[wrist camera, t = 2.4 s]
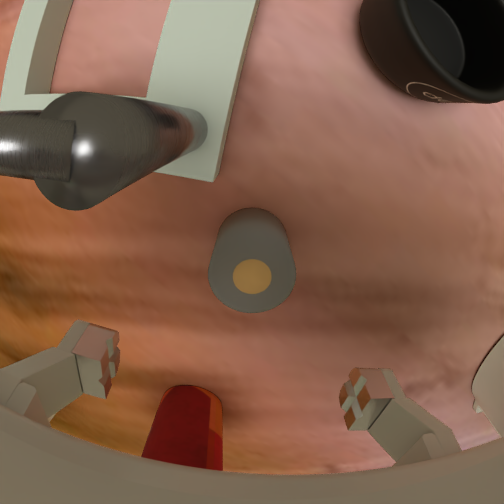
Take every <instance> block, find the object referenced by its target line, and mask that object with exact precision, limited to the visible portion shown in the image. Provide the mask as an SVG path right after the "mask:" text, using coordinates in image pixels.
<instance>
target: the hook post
mask: <svg viewBox="0 0 504 504" xmlns="http://www.w3.org/2000/svg"><path fill="white" fill-rule="evenodd" d="M207 132H208V127H207V122H206V120H205V118H204V117H203V116H202V115H201V114H200V113H199V112H198V111H196V110H193V109H189V108H185V107H180V106H175V105H170V104H165V103H159V102H154V101H148V100H142V99H136V98H129V97H122V96H115V95H107V94H99V93H90V92H71V93H67V94H64V95H62V96H60V97H58V98H56V99H55V100H53V101H52V102H51V103H50V104H49V105H48V106H47V107H46V108H45V109H44V110H8V111H0V175H2V176H10V177H17V178H24V179H31V180H34V181H35V183H36V185H37V187H38V188H39V190H40V191H41V192H42V194H43V195H44V196H45V197H46V198H47V199H48V200H49V201H51V202H52V203H53V204H55V205H57V206H59V207H61V208H64V209H67V210H74V211H75V210H84V209H88V208H91V207H93V206H95V205H97V204H99V203H100V202H102V201H104V200H105V199H107V198H108V197H110V196H112V195H113V194H115V193H117V192H118V191H120V190H122V189H124V188H125V187H127V186H129V185H130V184H132V183H134V182H136V181H137V180H139V179H141V178H143V177H145V176H146V175H148V174H150V173H152V172H154V171H156V170H157V169H159V168H161V167H163V166H165V165H167V164H169V163H171V162H172V161H174V160H176V159H178V158H180V157H182V156H184V155H186V154H188V153H190V152H192V151H194V150H196V149H198V148H199V147H200V146H201V145H202V144H203V143H204V141H205V139H206V137H207Z"/></svg>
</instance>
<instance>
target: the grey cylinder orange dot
mask: <svg viewBox="0 0 504 504" xmlns="http://www.w3.org/2000/svg"><path fill="white" fill-rule="evenodd" d="M208 279H209V284H210V287H211V289H212V291H213V293H214V294H215V296H216V297H217V298H218V299H219V300H220V301H221V302H222V303H223V304H225V305H226V306H228V307H230V308H232V309H234V310H237V311H240V312H245V313H259V312H264V311H267V310H270V309H273V308H275V307H276V306H278V305H280V304H281V303H282V302H283V301H284V300H285V299H286V298H287V297H288V296H289V295H290V293H291V291H292V290H293V287H294V285H295V281H296V267H295V263H294V260H293V256H292V253H291V249H290V246H289V242H288V239H287V235H286V232H285V229H284V227H283V225H282V223H281V222H280V220H279V219H278V218H277V217H276V216H274V215H273V214H272V213H270V212H268V211H266V210H263V209H259V208H245V209H241V210H238V211H236V212H234V213H232V214H231V215H230V216H228V217H227V218H226V219H225V221H224V222H223V223H222V225H221V227H220V229H219V232H218V236H217V239H216V243H215V246H214V250H213V253H212V257H211V261H210V264H209V269H208Z"/></svg>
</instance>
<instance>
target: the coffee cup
mask: <svg viewBox="0 0 504 504" xmlns="http://www.w3.org/2000/svg"><path fill="white" fill-rule="evenodd" d="M141 457H144V458H148V459H152V460H157V461H162V462H167V463H172V464H177V465H183V466H189V467H195V468H202V469H210V470H218V471H223V436H222V405H221V402H220V400H219V399H218V397H217V396H215V395H214V394H213V393H211V392H210V391H208V390H206V389H203V388H200V387H197V386H191V385H180V386H175V387H172V388H170V389H168V390H167V391H166V392H165V394H164V395H163V398H162V400H161V402H160V405H159V408H158V410H157V413H156V416H155V419H154V421H153V424H152V427H151V430H150V433H149V436H148V438H147V441H146V444H145V447H144V450H143V453H142V456H141Z"/></svg>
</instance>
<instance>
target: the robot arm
mask: <svg viewBox="0 0 504 504" xmlns="http://www.w3.org/2000/svg"><path fill="white" fill-rule="evenodd" d="M118 343H119V332H118V331H116V330H113V329H109V328H106V327H102V326H99V325H96V324H92V323H88V322H85V321H82V320H79V319H78V320H76V321H75V322H74V323H73V325H72V326H71V328H70V329H69V331H68V332H67V333H66V335H65V336H64V338H63V339H62V341H61V342H60V344H59V345H58V347H57V348H55V347H52V348H49V349H47V350H45V351H42V352H40V353H38V354H35V355H33V356H30V357H28V358H26V359H23V360H21V361H19V362H16V363H14V364H12V365H9V366H7V367H5V368H2V369H0V504H504V336H503V337H502V338H501V340H500V341H499V342H498V343H497V344H496V345H495V347H494V348H493V349H492V350H491V352H490V353H489V354H488V356H487V357H486V359H485V360H484V362H483V363H482V365H481V367H480V368H479V370H478V372H477V374H476V376H475V379H474V381H473V385H472V393H473V395H474V397H475V402H474V405H473V409H474V410H475V412H476V413H480V412H483V413H484V414H485V415H486V417H487V418H488V420H489V421H490V423H491V424H492V425H493V427H494V428H495V430H496V431H497V432H498V434H499V435H500V437H501V438H499V439H496V440H494V441H491V442H488V443H485V444H482V445H479V446H476V447H473V448H470V449H467V450H463V451H462V450H461V448H460V446H459V444H458V442H457V440H456V438H455V436H454V434H453V432H452V430H451V429H450V428H449V427H448V426H446V425H445V424H443V423H442V422H441V421H439V420H438V419H437V418H435V417H434V416H433V415H431V414H430V413H429V412H427V411H426V410H425V409H423V408H422V407H421V406H419V405H418V404H417V403H415V402H414V401H413V400H411V399H410V398H406V397H405V395H404V393H403V391H402V389H401V387H400V385H399V383H398V381H397V379H396V377H395V375H394V373H393V371H392V370H391V369H385V368H378V369H375V368H354V369H353V370H352V371H351V372H350V374H349V378H350V380H349V381H347V382H346V383H344V385H343V386H342V388H341V390H340V396H339V401H340V406H341V408H342V409H343V410H344V411H345V412H346V414H345V415H344V419H345V422H346V426H347V429H348V430H368V432H369V433H370V434H371V435H372V437H373V438H374V439H375V440H376V441H377V442H378V443H379V444H380V445H381V446H382V447H383V448H384V450H385V451H386V452H387V453H388V454H389V455H390V456H391V457H392V458H393V459H394V460H395V461H396V463H395V464H394V465H393V466H392V467H387V468H380V469H373V470H365V471H356V472H345V473H331V474H309V475H274V474H252V473H238V472H227V471H218V470H210V469H202V468H195V467H189V466H183V465H177V464H172V463H167V462H162V461H157V460H152V459H148V458H144V457H139V456H135V455H131V454H128V453H124V452H120V451H117V450H113V449H110V448H106V447H103V446H100V445H97V444H94V443H91V442H88V441H85V440H82V439H79V438H76V437H73V436H71V435H68V434H65V433H63V432H60V431H58V430H55V429H53V428H51V425H50V423H49V421H48V418H49V417H51V416H52V415H54V414H55V413H56V412H58V411H59V410H61V409H62V408H64V407H65V406H66V405H68V404H69V403H71V402H72V401H74V400H75V399H76V398H78V397H79V396H81V395H82V394H83V393H85V394H89V395H92V396H96V397H99V398H103V399H106V398H107V395H108V393H109V390H110V388H111V386H112V384H111V378H113V377H114V376H116V373H117V371H118V367H119V363H120V350H119V348H118V347H117V345H118Z"/></svg>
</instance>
